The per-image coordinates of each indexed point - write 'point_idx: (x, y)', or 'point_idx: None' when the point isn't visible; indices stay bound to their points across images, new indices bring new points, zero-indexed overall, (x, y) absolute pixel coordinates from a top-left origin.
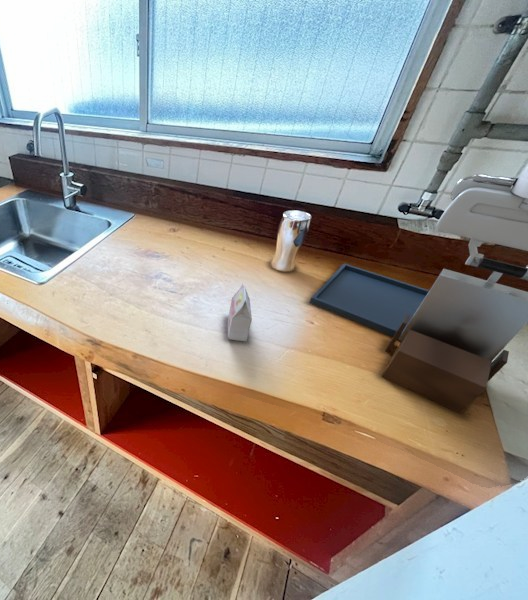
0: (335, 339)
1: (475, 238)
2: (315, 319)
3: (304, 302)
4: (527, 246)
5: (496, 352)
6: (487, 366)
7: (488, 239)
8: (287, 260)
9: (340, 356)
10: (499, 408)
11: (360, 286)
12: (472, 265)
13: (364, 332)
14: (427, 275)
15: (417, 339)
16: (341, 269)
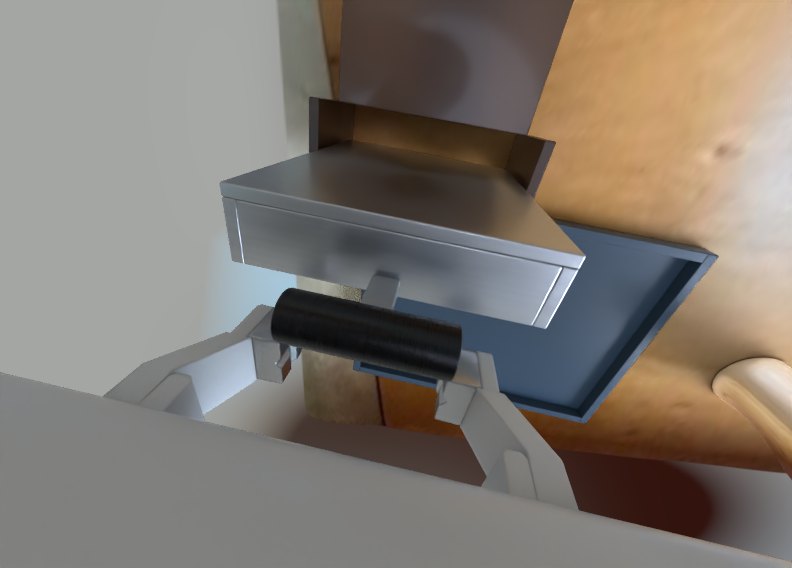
0: (658, 105)
1: (589, 519)
2: (703, 175)
3: (719, 243)
4: (264, 472)
5: (331, 147)
6: (346, 59)
7: (511, 518)
8: (781, 387)
9: (660, 18)
10: (313, 67)
11: (551, 361)
12: (464, 349)
13: (565, 189)
14: (422, 431)
15: (513, 85)
16: (596, 400)
